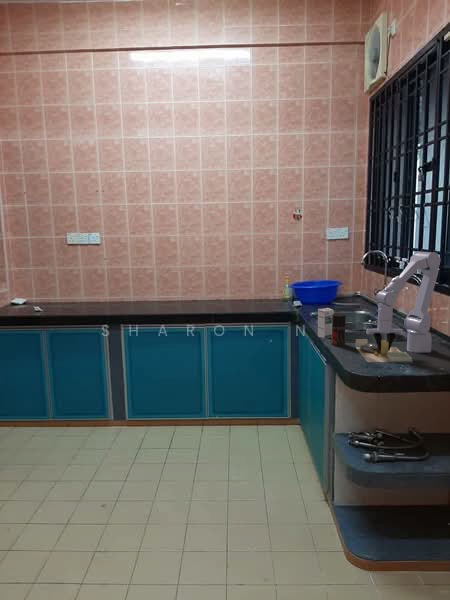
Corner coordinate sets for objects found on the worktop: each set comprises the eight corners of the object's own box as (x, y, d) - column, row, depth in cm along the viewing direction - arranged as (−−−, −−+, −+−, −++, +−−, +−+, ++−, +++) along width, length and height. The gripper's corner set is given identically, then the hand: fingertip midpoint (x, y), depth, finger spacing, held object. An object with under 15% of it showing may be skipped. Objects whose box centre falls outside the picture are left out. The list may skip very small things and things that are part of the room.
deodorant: (346, 347, 202) (347, 316, 199) (334, 348, 201) (334, 316, 199) (342, 344, 207) (343, 313, 205) (329, 344, 207) (330, 313, 204)
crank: (353, 346, 200) (353, 336, 199) (380, 346, 199) (381, 336, 198) (359, 354, 187) (359, 344, 187) (388, 354, 186) (388, 344, 185)
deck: (395, 348, 199) (395, 346, 198) (412, 363, 177) (413, 361, 177) (355, 348, 200) (355, 346, 200) (367, 363, 178) (367, 361, 178)
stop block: (385, 353, 189) (386, 340, 188) (388, 355, 186) (388, 342, 185) (378, 353, 189) (379, 340, 188) (380, 355, 186) (381, 342, 185)
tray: (405, 356, 185) (405, 352, 184) (411, 362, 177) (411, 357, 177) (386, 356, 185) (386, 352, 185) (392, 361, 178) (392, 357, 177)
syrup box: (324, 339, 217) (324, 310, 215) (317, 336, 223) (317, 308, 220) (333, 337, 219) (334, 309, 217) (326, 335, 225) (327, 307, 222)
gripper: (399, 317, 188) (397, 347, 190) (365, 317, 189) (364, 347, 191) (405, 320, 181) (403, 352, 183) (369, 320, 182) (368, 352, 184)
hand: (383, 350), depth 187 cm, fingers open, 3 cm apart
